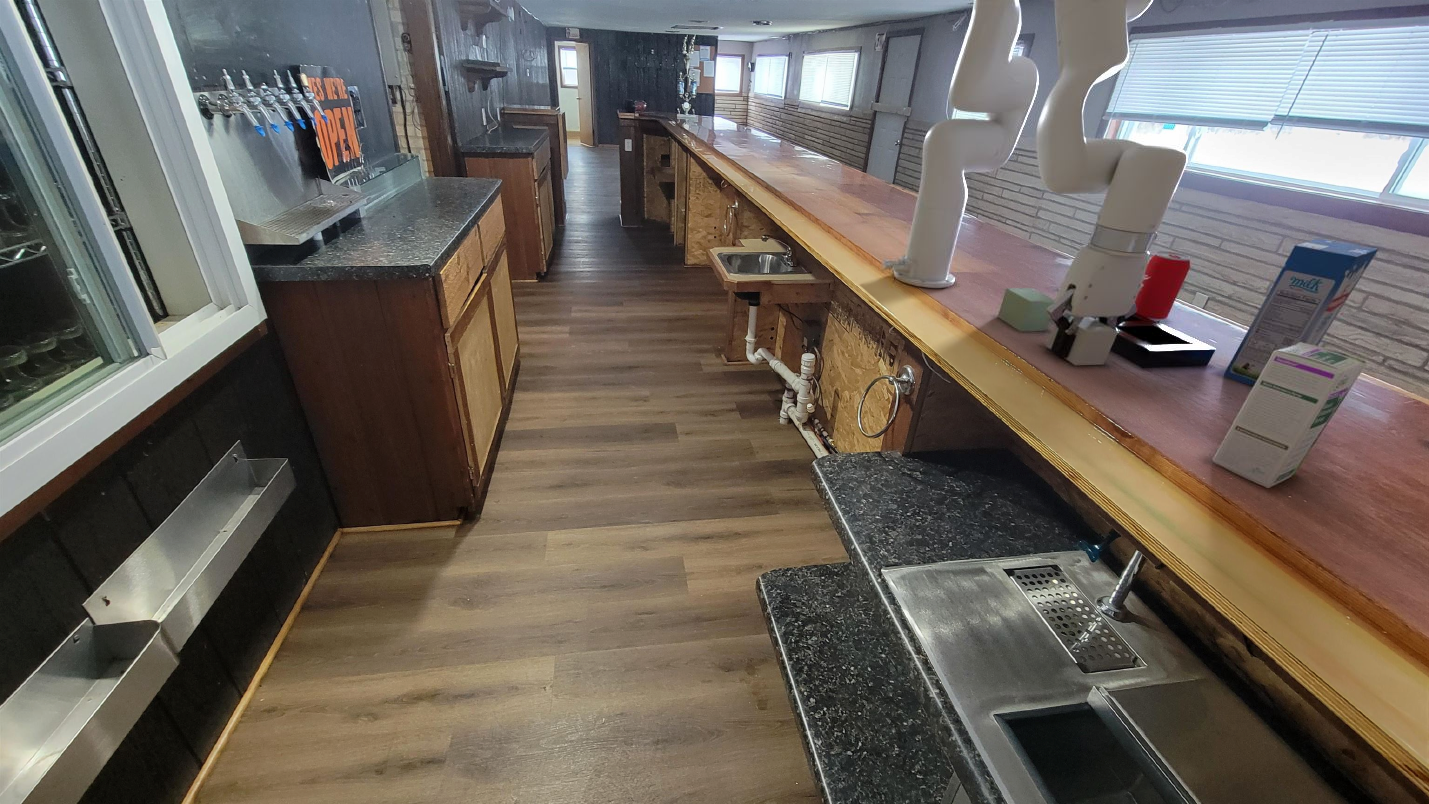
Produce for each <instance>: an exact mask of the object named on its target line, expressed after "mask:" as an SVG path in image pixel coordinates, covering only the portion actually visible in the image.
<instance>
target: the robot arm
mask: <svg viewBox="0 0 1429 804" xmlns="http://www.w3.org/2000/svg"><path fill="white" fill-rule="evenodd" d="M1053 1H1054V2H1053V3H1054V4H1053V5H1054V18H1055V20H1054V21H1055V33H1056V48H1057V61H1058V79H1057V82H1056V83H1055V85H1054V86H1053V88H1052V89H1051V90H1050V93H1048V96H1047V98H1046V99H1045V103H1044V105H1043V107H1042V109H1041V113H1040V114H1039V118H1038V120H1037V121H1038V122H1037V125H1036V131H1035V144H1036V145H1035V146H1036V157H1037V166H1038V172H1039V176H1040V178H1041V181H1042V183H1043V185H1044V186H1045V187H1046V188H1047V189H1048V190H1049V191H1051V192H1053V193H1057V194H1061V195H1062V194H1063V195H1076V194H1077V195H1084V194H1085V195H1086V194H1088V195H1104V194H1105V197H1104V200H1103V203H1102V206H1101V208H1100V211H1099V214H1098V216H1097V219H1096V221H1095V223H1094V227H1093V229H1092V232H1091V235H1090V237H1089V240H1088V243H1087V244H1084V245H1082V246H1081V247H1080V248H1079V250H1078V251H1077V253H1076V255H1075V257H1074V258H1073V260H1072V262H1071V264H1070V265H1069V268H1068V269H1067V272H1066V273H1065V276H1064V278H1063V280H1062V281H1061V285H1060V287H1059V289H1058V291H1057V294H1056V298H1055V299H1054V300H1055V302H1054V303H1053V304H1052V305H1051V306H1050V307H1049V308H1048V309H1047V312H1048V314H1049V315H1050V316H1051V317H1052V318H1051V319H1052V321H1053V322H1054V324H1056V328H1058V332H1057V334H1056V337H1055V339H1054V342H1053V345H1052V347H1051V349H1050V351H1051V352H1053V353H1054V354H1056V355H1057V356H1058V357H1060V358H1062V359H1065V358H1067V357H1068V355H1069V352H1070V350H1071V347H1072V345H1073V342H1074V340H1075V337H1076V335H1074V334H1073V333H1074V331H1075V330H1076V329H1077V327H1078V326H1079V324H1080V323H1081V321H1082V320H1083V318H1084V317H1096V320H1097V321H1099V322H1101V323H1103V324H1105V325H1107V326H1109V327H1110V328H1112V329H1114V330H1115V329H1116V327H1117V326H1118V325H1120V324H1121V323H1122V322H1124V320H1125V319H1127V318H1128V317H1130V316H1131V315H1133V314H1135V313H1136V311H1137V308H1136V305H1135V299H1136V297H1137V295H1138V292H1139V290H1140V287H1141V284H1142V281H1143V278H1144V275H1145V272H1146V268H1147V265H1148V263H1149V260H1150V255H1151V253H1150V250H1151V247H1152V245H1153V243H1154V242H1155V241H1156V240H1157V239H1158V231H1159V229H1160V227H1161V225H1162V222H1163V220H1164V217H1165V215H1166V213H1167V210H1168V209H1169V207H1170V203H1171V201H1172V199H1173V196H1174V195H1175V194H1174V193H1176V190H1177V188H1178V185H1179V183H1180V180H1181V179H1182V176H1183V173H1184V171H1185V169H1186V167H1187V166H1186V165H1187V163H1188V154H1187V153H1186V151H1185V150H1183V149H1180V148H1175V147H1168V146H1158V145H1146V144H1142V143H1139V142H1136V141H1133V140H1129V139H1122V138H1104V137H1103V138H1101V137H1099V138H1098V137H1086V136H1085V128H1084V127H1085V125H1084V108H1085V103H1086V100H1087V97H1088V95H1089V92H1090V90H1091V89H1092V88H1093V86H1094V85H1096V84H1098V83H1100V82H1102V81H1104V80H1106V79H1108V78H1109V77H1112V76H1113V75H1114V74H1116V73H1118V72H1119V71H1120V70H1121V69H1122V68H1124V66H1125V64H1126V63H1127V61H1128V59H1129V56H1130V47H1129V32H1128V23H1130V22H1132V21H1134V20H1135V19H1137V18H1139V17H1140V16H1141V15H1142V14H1143V13H1144V12H1145V11H1147V9H1148V8H1149V7H1150V6H1151V4H1152V3H1153V0H1053ZM971 11H972V12H971V17H970V21H969V24H968V27H967V31H966V33H965V37H964V39H963V43H962V46H961V49H960V53H959V55H958V58H957V62H956V66H955V69H954V71H953V74H952V78H951V81H950V85H949V90H948V101H949V104H950V106H951V107H952V108H953V109H955V110H956V111H960V112H966V113H975V114H976V113H978V114H979V113H980V114H985V117H984V119H977V118H949V119H945V120H941V121H939V122H937V123H936V124H934V125H933V126H931V127H930V129H929V130H928V131H927V133H926V135H925V137H924V140H923V143H922V144H923V145H922V158H921V159H922V160H921V176H920V183H919V189H918V194H917V199H916V204H915V208H914V213H913V217H912V223H911V227H910V232H909V237H908V241H907V246H906V251H905V254H902V255H900V257H899V258H898V259H896V260H883V261H882V263H881V268H882V270H885V271H886V270H892V272H894V274H893V276H894V278H895V279H896V280H897V281H900V282H902V283H903V284H904V283H905V284H907V285H911V286H915V287H920V288H921V287H922V288H931V289H942V288H948V287H951V286H953V285H954V284H955V279H956V277H954V275H952V274H951V273H950V270H951V269H950V268H951V264H952V261H953V255H954V253H955V248H956V244H957V241H958V236H959V233H960V229H961V225H962V221H963V217H964V214H965V210H966V205H967V201H968V187H967V182H966V180H965V174H964V173H989V172H994V171H997V170H999V169H1001V168H1002V167H1003V166H1004V165H1005V164H1006V163H1007V162H1008V161H1009V159H1010V157H1011V156H1012V154H1013V153H1014V149H1015V147H1016V145H1017V142H1018V140H1019V138H1020V135H1021V133H1022V130H1023V128H1024V126H1025V123H1026V121H1027V118H1028V115H1029V113H1030V111H1031V108H1032V106H1033V104H1034V100H1035V98H1036V95H1037V91H1038V86H1039V71H1038V67H1037V65H1036V63H1035V62H1034V61H1033V60H1032V59H1030V58H1029V57H1027V56H1024V55H1017V54H1014V55H1013V51H1014V48H1015V45H1016V43H1017V40H1018V39H1019V35H1020V32H1021V27H1022V9H1021V3H1020V0H973V6H972V10H971ZM1065 308H1066V310H1065V311H1064V313H1062V311H1063V310H1064V309H1065ZM1071 316H1073V317H1074V318H1073V319H1072V321H1071V322H1070V323H1069V321H1068V320H1069V319H1070V317H1071Z"/></svg>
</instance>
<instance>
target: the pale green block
mask: <svg viewBox="0 0 1429 804" xmlns="http://www.w3.org/2000/svg"><path fill="white" fill-rule="evenodd" d="M1055 300H1056V299H1053V298H1052V297H1050V296H1048V295H1046V294H1044V293H1041V292H1040V291H1038V290H1036V289H1034V288H1033V287H1006V289H1005V292H1004V295H1003V298H1002V300H1001V305H1000V307H999V311H998V314H997V318H999V320H1002V321H1003V322H1005V323H1007V324H1008V325H1010V326H1011V327H1013V328H1014V329H1016V330H1018V331H1019V332H1046V331H1047V328H1048V327H1049V323H1050V320H1051V319H1052V318H1051V316H1050V315H1049V314H1048V312H1047V309H1048V308H1049V307H1050V306H1051V305H1052V304H1053V303H1054V302H1055Z"/></svg>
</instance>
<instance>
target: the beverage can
mask: <svg viewBox="0 0 1429 804" xmlns="http://www.w3.org/2000/svg"><path fill="white" fill-rule="evenodd" d="M1190 269H1191V257H1190V256H1189V255H1186V254H1184V253H1178V252H1174V251H1173V252H1172V251H1157V252H1156V253H1155V254H1154V255H1153V256H1152V257H1151V258H1149V260H1148V264H1147V268H1146V272H1145V275H1144V278H1143V281H1142V284H1141V287H1140V290H1139V292H1138V295H1137V297H1136V299H1135V305H1136V308H1137V311H1136V313H1138V314H1140V315H1143V316H1145V317H1147V318H1149V319H1151V320H1154V321H1156V322H1160V321H1164V320H1166V319H1168V316H1169V314H1170V312H1171V310H1172V308H1173V306H1174V304H1175V301H1176V299H1177V297H1178V295H1179V293H1180V291H1181V288H1182V286H1183V284H1184V282H1185V280H1186V277H1187V276H1188V273H1189V271H1190Z"/></svg>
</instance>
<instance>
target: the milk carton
mask: <svg viewBox="0 0 1429 804" xmlns="http://www.w3.org/2000/svg"><path fill="white" fill-rule="evenodd" d="M1378 251H1379V248H1376V247H1371V246H1370V247H1369V246H1365V245H1358V244H1353V243H1348V242H1341V241H1336V240H1331V239H1324V238H1315V239H1313V240H1312V239H1311V240H1309V241H1305V242H1301V243H1299V244H1298V243H1297V244H1295V245H1294V247H1293V249H1292V250H1291V252H1290V254H1289V255H1288V257H1287V259H1286V261H1285V262H1284V265H1283V266H1282V268H1281V270H1280V272H1279V274H1278V275H1277V277H1276V279H1275V281H1274V282H1273V284H1272V286H1271V288H1270V290H1269V292H1268V294H1267V295H1266V297H1265V298H1264V301H1263V302H1262V304H1261V306H1260V308H1259V309H1258V311H1257V313H1256V315H1255V317H1254V318H1253V321H1252V323H1250V326H1249V328H1248V330H1247V331H1246V333H1245V335H1244V337H1243V338H1242V340H1241V341H1240V343H1239V346H1238V348H1237V349H1236V352H1235V353H1234V355H1233V357H1232V358H1231V360H1230V362H1229V364H1228V366H1227V367H1226V369H1225V371H1224V373H1223V375H1222V376H1223V377H1226V378H1229V379H1231V380H1235V381H1237V382H1240V383H1242V384H1246V385H1249V386H1252V387H1254V385H1255V383H1256V382H1257V380H1258V378H1259V376H1260V375H1261V373H1262V371H1263V369H1264V368H1265V366H1266V364H1267V362H1268V361H1269V359H1270V357H1271V355H1272V353H1273V351H1276V350H1279V349H1282V348H1285V347H1288V346H1293V345H1295V344H1297V343H1299V342H1302V343H1306V344H1310V345H1315V346H1319V345H1320V344H1321V341H1323V339H1324V337H1325V335H1326V334H1327V332H1328V331H1329V329H1330V327H1331V325H1332V324H1333V323H1334V321H1335V319H1336V318H1337V316H1338V315H1339V314H1340V311H1341V310H1342V309H1343V307H1344V305H1345V304H1346V302H1347V301H1348V299H1349V297H1350V296H1351V294H1352V292H1353V291H1354V289H1355V288H1356V286H1357V285H1358V283H1359V281H1360V280H1361V278H1362V276H1363V275H1364V273H1365V272H1366V270H1367V268H1368V267H1369V265H1370V264H1371V262H1372V260H1373V259H1374V257H1376V255H1377V253H1378Z"/></svg>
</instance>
